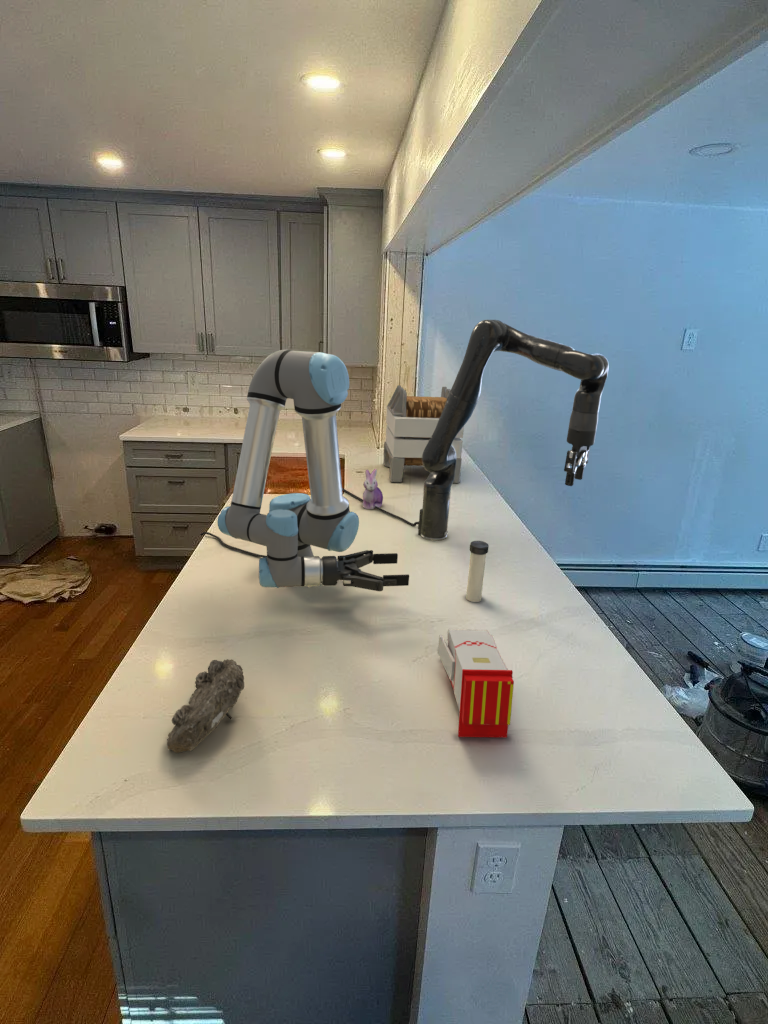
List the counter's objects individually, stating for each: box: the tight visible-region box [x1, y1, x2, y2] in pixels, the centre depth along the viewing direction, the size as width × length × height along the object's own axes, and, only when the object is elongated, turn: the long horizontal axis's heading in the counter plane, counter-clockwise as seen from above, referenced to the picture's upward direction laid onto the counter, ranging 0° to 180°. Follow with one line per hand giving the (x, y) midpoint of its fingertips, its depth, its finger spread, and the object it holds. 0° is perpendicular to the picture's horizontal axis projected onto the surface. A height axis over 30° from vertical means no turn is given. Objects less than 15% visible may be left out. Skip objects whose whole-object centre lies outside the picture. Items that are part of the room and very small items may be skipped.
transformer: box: [383, 384, 465, 484], centre depth 268 cm, size 34×33×41 cm
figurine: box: [361, 468, 384, 510], centre depth 224 cm, size 9×10×15 cm
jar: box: [465, 552, 487, 603], centre depth 155 cm, size 4×4×16 cm
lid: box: [468, 540, 490, 555], centre depth 152 cm, size 5×5×2 cm
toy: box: [437, 628, 515, 738], centre depth 117 cm, size 12×13×30 cm
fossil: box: [166, 658, 245, 754], centre depth 106 cm, size 22×10×15 cm
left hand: (402, 568), depth 148 cm, fingers open, 13 cm apart
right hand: (573, 482), depth 165 cm, fingers open, 8 cm apart
